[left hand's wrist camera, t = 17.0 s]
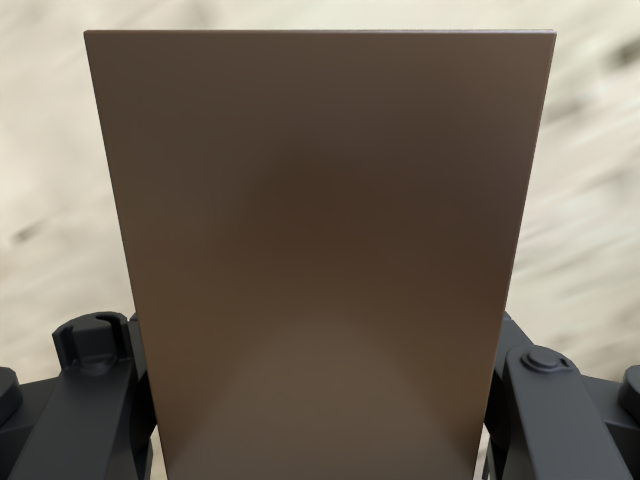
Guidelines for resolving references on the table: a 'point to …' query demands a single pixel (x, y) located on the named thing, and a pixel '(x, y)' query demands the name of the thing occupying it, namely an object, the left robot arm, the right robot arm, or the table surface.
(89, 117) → the table surface
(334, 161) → the beam
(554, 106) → the table surface
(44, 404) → the left robot arm
